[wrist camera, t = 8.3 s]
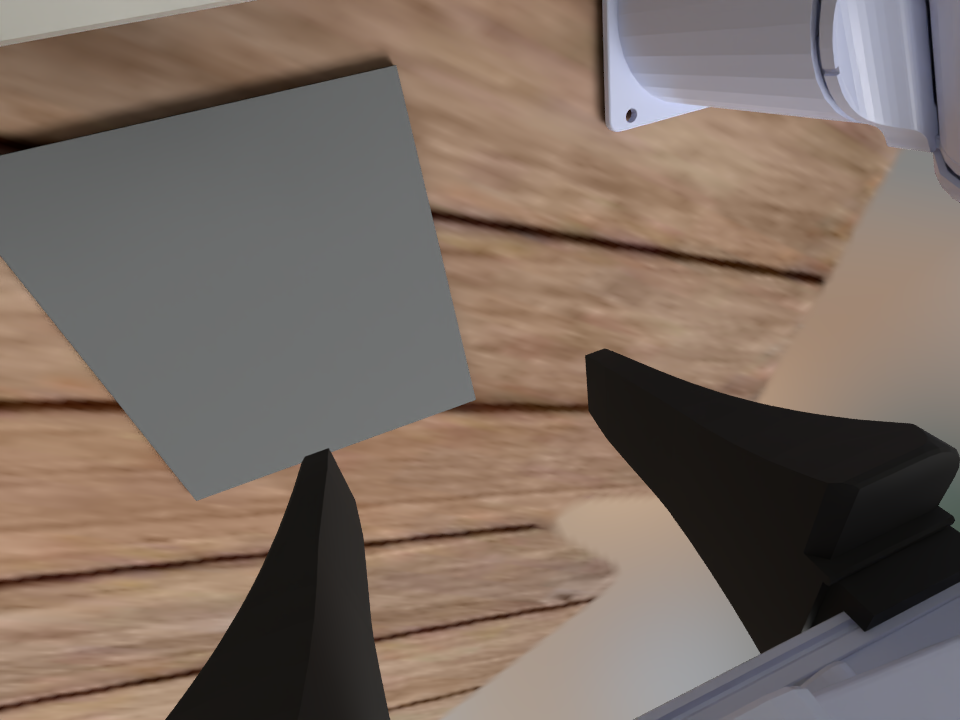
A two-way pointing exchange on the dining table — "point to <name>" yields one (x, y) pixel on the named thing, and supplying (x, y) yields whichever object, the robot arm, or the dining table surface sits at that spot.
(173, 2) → the lid
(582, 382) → the dining table surface
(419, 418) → the mat
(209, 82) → the dining table surface
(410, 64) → the dining table surface
